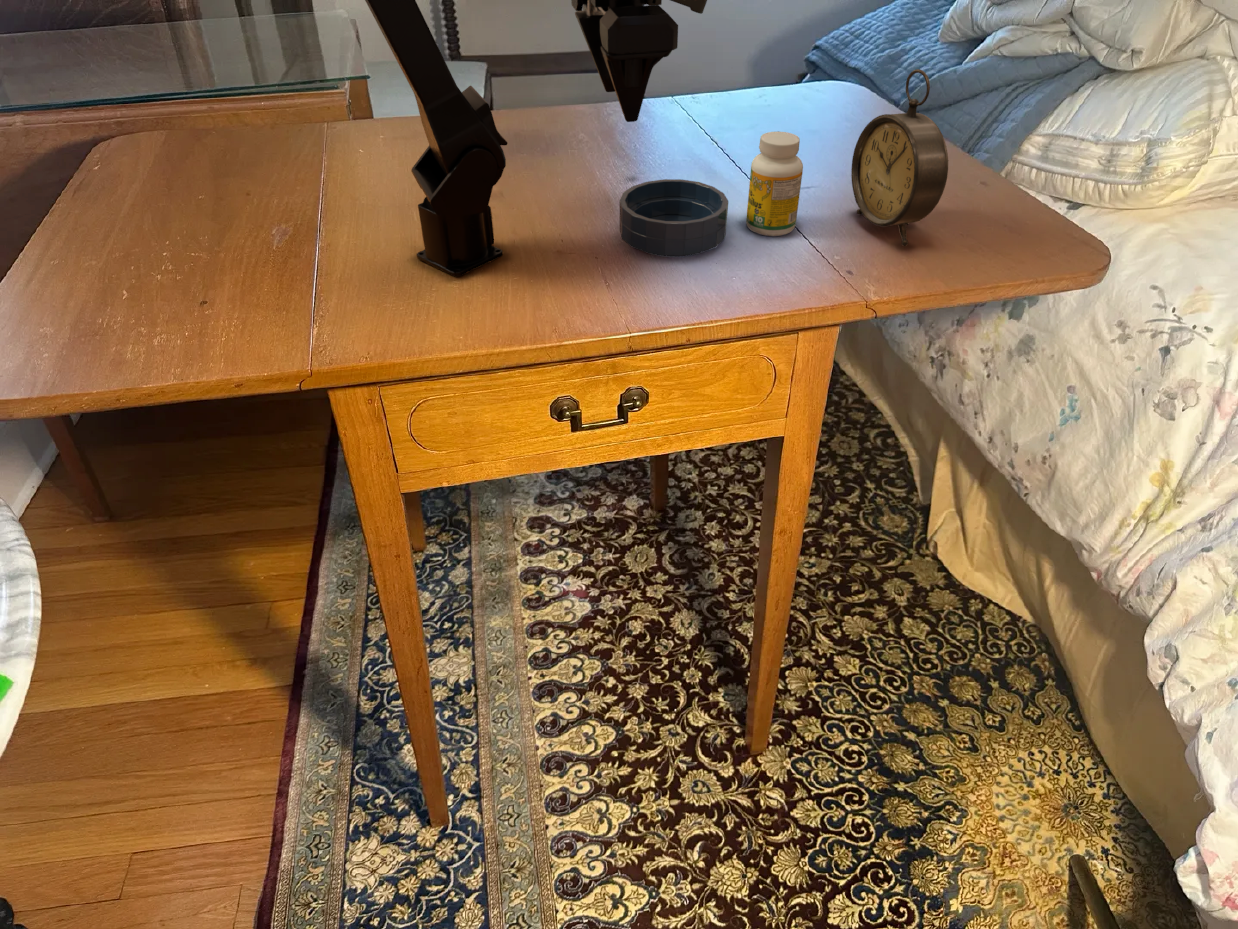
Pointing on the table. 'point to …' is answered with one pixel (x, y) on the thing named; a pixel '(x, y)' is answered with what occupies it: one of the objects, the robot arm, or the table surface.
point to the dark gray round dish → (673, 217)
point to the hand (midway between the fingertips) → (620, 105)
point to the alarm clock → (899, 167)
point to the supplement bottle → (775, 185)
